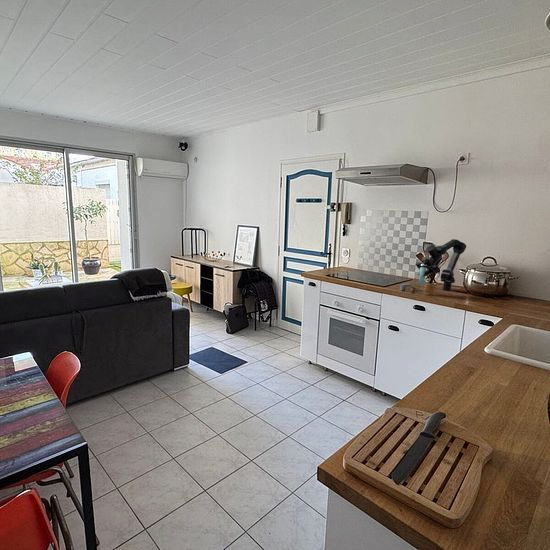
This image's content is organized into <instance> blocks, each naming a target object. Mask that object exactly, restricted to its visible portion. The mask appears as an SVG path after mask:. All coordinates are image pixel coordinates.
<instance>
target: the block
mask: <svg viewBox="0 0 550 550" xmlns="http://www.w3.org/2000/svg"><path fill="white" fill-rule="evenodd" d="M404 291H405V292H406V291H408V292H407V293H410V292H411V293H412V294H413V293H414V292H416V291H419V292H420V291H421V290H420V287H417V286H412V285H411V287H405V290H404Z"/></svg>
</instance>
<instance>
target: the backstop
mask: <svg viewBox="0 0 550 550" xmlns="http://www.w3.org/2000/svg"><path fill="white" fill-rule="evenodd" d="M405 287H412V283H402V284H399V291H401V290H403V291H405Z"/></svg>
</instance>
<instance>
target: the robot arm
mask: <svg viewBox="0 0 550 550" xmlns="http://www.w3.org/2000/svg"><path fill="white" fill-rule="evenodd" d="M466 248H467V245H466V243H464V242H462V241H460V240H459V239H456V238H452V239H451V240H449V241H448V242H446V243H445V244H443V245H437V246H436V245H435V244H431V245H429V246H427V247H426V248H425V249H426V251H427V253H428V255H429V256H428V257H427V256H422V258H421V259H420V261H421V262H419V261H416V263H415V266H416V268H417V269H418V270H419V271H418V276H419V275H420V267H424V268H426V272H425V273H424V275H423V277H425V278H426V277H427V276H428V275H431V274H434V273H436V274H440V281H441V282H443V286H442V287H441V289H442V291H449V292H450V291H453V289H452V286H453V285H452V284H454V283H455V282H456V279H455V277H454V275H455V273H454V270H455V267H456V266H457V262H458V261H459V258H460V256H461V254H463V253H464V252H465V251H466ZM450 249H452V251H453V253H452V255H451V258H450V260H449V262H448V264H447V267H446V269H442V272H441V269H440V267H439V265H437V262H439V260H440V261H442V256H444V255H445V254H446V253H447V251H448V250H450ZM441 255H442V256H441ZM440 272H441V273H440Z"/></svg>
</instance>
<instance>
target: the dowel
mask: <svg viewBox="0 0 550 550" xmlns="http://www.w3.org/2000/svg"><path fill="white" fill-rule="evenodd" d="M419 270H420V275H418V277H419V278H418V285H420V286H425V284H426V283H425V282H426V276H425V277H423V275H424V273H425V272H426V270H427V268H424V267H420V269H419Z"/></svg>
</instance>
